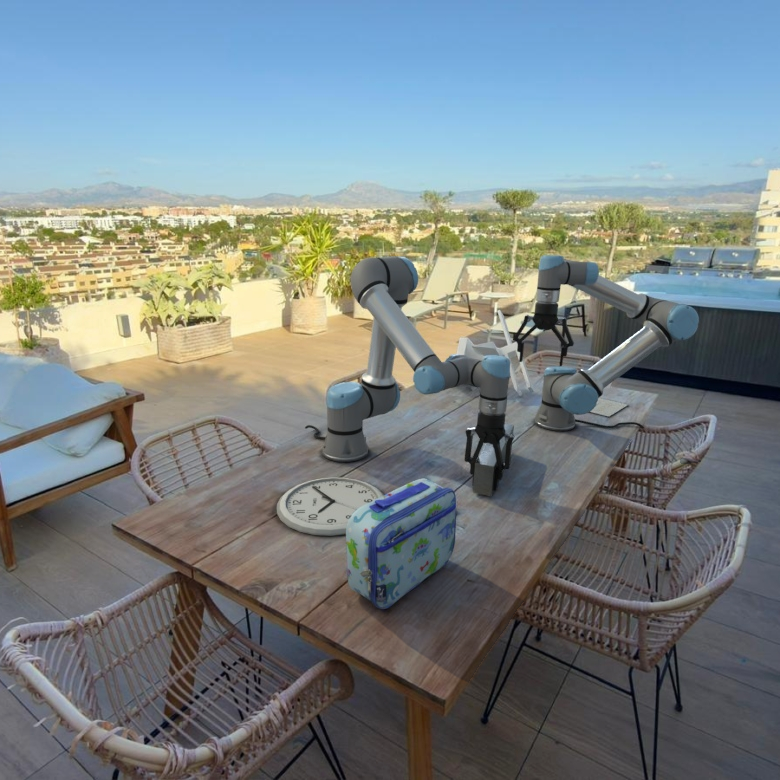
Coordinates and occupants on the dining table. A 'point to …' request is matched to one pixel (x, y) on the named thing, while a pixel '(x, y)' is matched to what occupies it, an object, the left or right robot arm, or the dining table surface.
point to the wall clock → (324, 504)
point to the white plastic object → (496, 353)
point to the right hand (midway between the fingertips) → (540, 363)
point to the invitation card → (607, 407)
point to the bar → (488, 465)
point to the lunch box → (400, 540)
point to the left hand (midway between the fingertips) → (484, 486)
